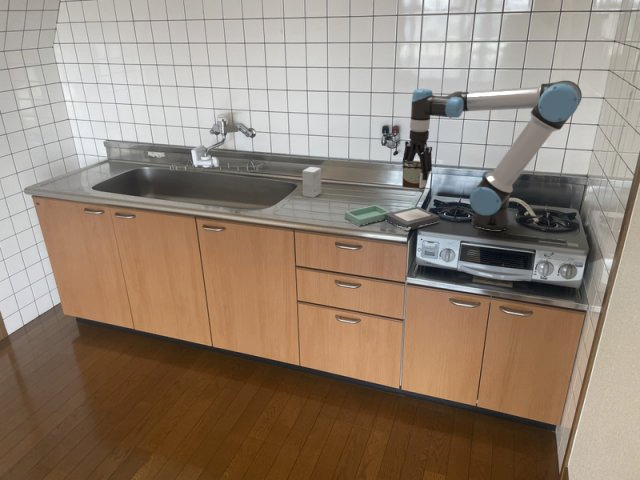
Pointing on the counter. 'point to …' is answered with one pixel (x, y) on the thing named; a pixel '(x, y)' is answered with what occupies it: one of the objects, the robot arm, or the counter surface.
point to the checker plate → (412, 215)
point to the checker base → (412, 224)
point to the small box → (311, 182)
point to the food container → (412, 175)
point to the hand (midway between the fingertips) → (415, 184)
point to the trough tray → (366, 214)
